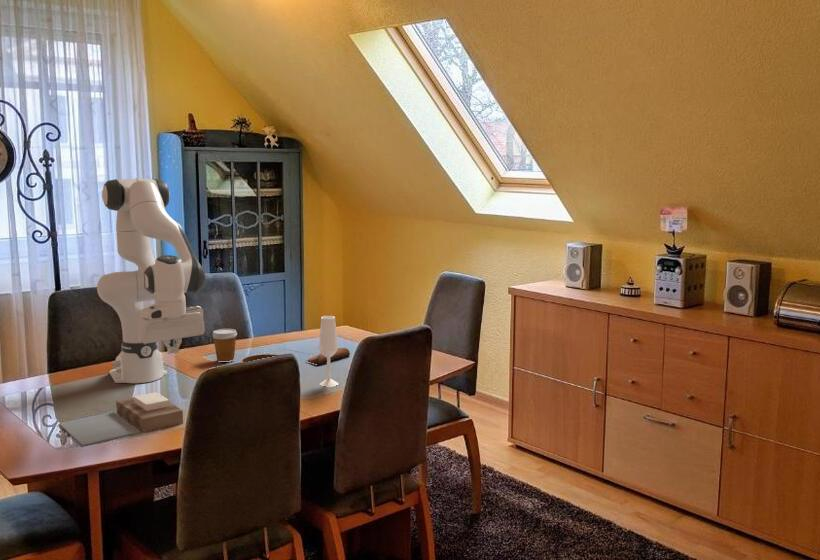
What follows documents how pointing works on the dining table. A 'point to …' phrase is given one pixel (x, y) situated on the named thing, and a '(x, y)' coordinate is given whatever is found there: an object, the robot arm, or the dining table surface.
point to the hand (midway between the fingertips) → (173, 353)
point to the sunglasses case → (322, 359)
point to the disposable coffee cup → (225, 344)
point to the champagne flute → (328, 345)
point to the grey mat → (98, 428)
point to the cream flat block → (151, 401)
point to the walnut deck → (148, 415)
